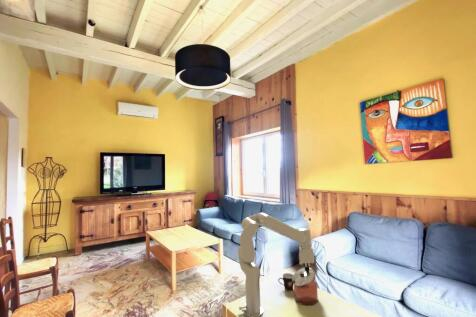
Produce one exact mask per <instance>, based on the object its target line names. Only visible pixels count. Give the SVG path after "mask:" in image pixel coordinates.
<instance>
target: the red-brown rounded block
mask: <svg viewBox="0 0 476 317" xmlns="http://www.w3.org/2000/svg"><path fill="white" fill-rule="evenodd" d="M293 291H294V292H293V293H294V301H295V302H296V303H298V304H300V305H303V306H314V305H316V304H317V303H318V302H319V298H318V283H317V282H316V281H315V280H314V279H312V281H311V282H309V283H308V284H306V285H304V286H295V285H294V284H293Z"/></svg>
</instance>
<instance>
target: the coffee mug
mask: <svg viewBox="0 0 476 317" xmlns="http://www.w3.org/2000/svg"><path fill="white" fill-rule="evenodd" d="M293 275H294V274H292V273H290V272H289V273H287V272H286V273H283V274H282V277H279V278H278V283H279V284H280V285H282V286H284V289H285V291H288V292H291V291H294V284H293V282H292V277H293ZM280 279H281V280H282V281H283V283H282V282H281V281H280Z"/></svg>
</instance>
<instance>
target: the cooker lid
mask: <svg viewBox="0 0 476 317" xmlns="http://www.w3.org/2000/svg"><path fill="white" fill-rule="evenodd" d="M315 275H316V274H315V271H314V269H313V268H312V267H309V272H308V273H307V272H306V271H305V267H301V268H300V269H298V270H297V271H296V272H295V273H294V274H293V277H292V282H293V286H294V285H295V286H304V285H306V284H308V283H309V282H311V281H312V280H314V278H315Z"/></svg>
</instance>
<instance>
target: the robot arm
mask: <svg viewBox="0 0 476 317" xmlns="http://www.w3.org/2000/svg"><path fill="white" fill-rule="evenodd" d="M259 226H261V227H264V228H265V229H268V230H270V231H271V232H274V233H276V234H279V235H280V236H283V237H285V238H288V239H290V240H292V241H294V242H296V243H299V244H298V247H299V249H298V260H299V262H298V263H299V265H303V266H304V267H303V268H305V271H306V272H307V273H308V272H309V267H310V266H311V264H314V263H315V254H314V249H313V247H312V239H311V237H312V235H311V230H310V228H307V227H302V228H294V227H293V226H290V225H289V224H287V223H286V222H284V221H281V220H279V219H277V218H275V217H273V216H271V215H269V214H267V213H264V212H258V213H255V214H252V215H250V216H248V217H245V218H243V219H242V221H241V228H242V229H243V230H242V231H241V233H240V236H239V243H240V245H239V246H238V248H237V256H238V261H239V265H240V266H239V267H240V270H241V271H242V272H243V274H244V275H245V284H244V287H245V303H244V305H242V306H238V309H239V311H241V312H243V313H245V314H244V315H245V316H246V315H247V316H246V317H248V316H249V317H262V315H263V314H264V309H263V308H262V306H261V289H260V288H261V286H260V283H261V282H260V278H261V270H260V268H259V266H258V264H256V263H255V262H254V261H255V259H256V252H255V247H254V236H255V235H256V233H257V232H258V231H259ZM310 268H311V267H310Z"/></svg>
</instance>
